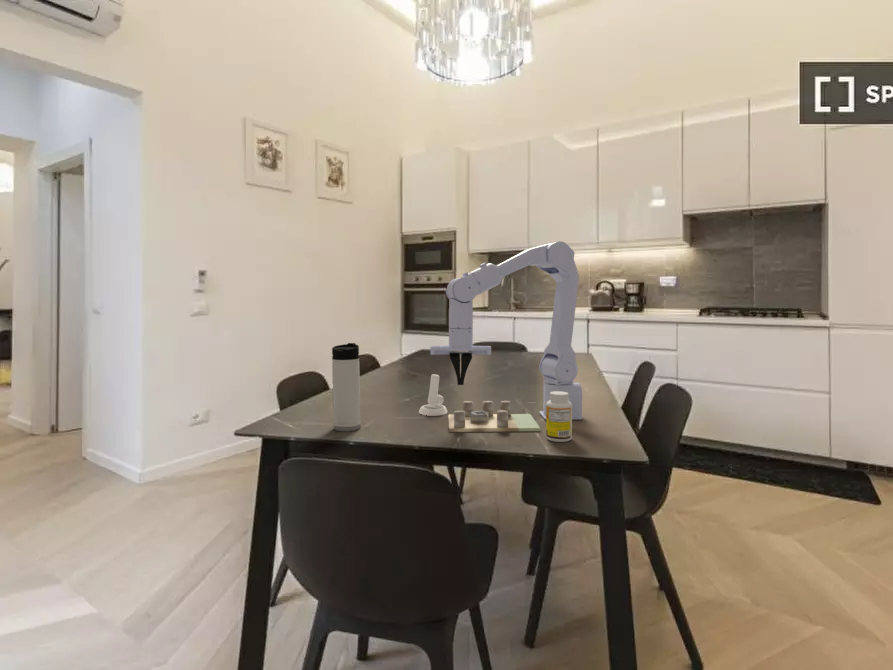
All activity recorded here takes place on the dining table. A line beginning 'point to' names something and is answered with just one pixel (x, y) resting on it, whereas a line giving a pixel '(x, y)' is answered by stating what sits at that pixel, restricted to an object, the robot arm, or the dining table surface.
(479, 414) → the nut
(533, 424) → the felt mat
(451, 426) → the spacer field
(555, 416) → the supplement bottle
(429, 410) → the hook
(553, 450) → the dining table surface
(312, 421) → the dining table surface
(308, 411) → the dining table surface
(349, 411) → the travel mug
